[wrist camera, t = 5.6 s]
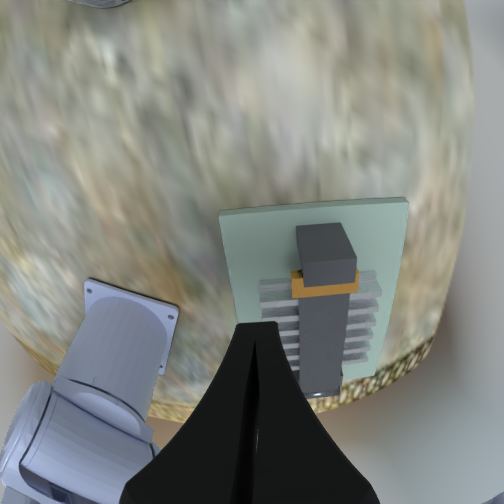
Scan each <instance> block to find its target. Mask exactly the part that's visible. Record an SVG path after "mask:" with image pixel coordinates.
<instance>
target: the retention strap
mask: <svg viewBox="0 0 504 504" xmlns="http://www.w3.org/2000/svg"><path fill="white" fill-rule="evenodd" d="M290 275H291V292H292V298H298V318H299V386H300V388H301V390H302V392H303V394H304V396H305V398H306V399H310V398H320V397H328V396H337V395H340V385H339V380H340V373H341V366H342V359H343V352H344V344H345V336H346V328H347V319H348V310H349V299H350V293H354V292H358V285H359V275H360V273H359V270H358V268H357V267H356V278H355V283H347V284H337V285H327V286H316V287H305V288H304V283H303V273H302V269H301V270H290Z"/></svg>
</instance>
